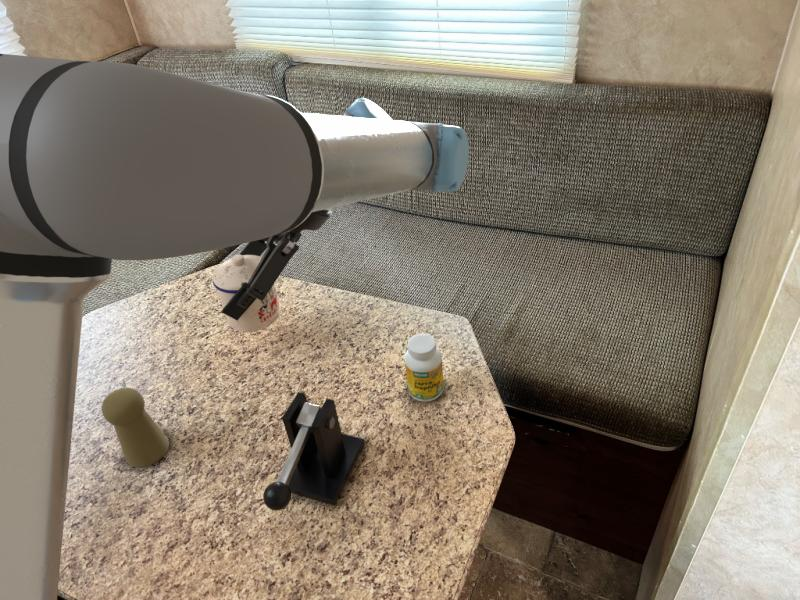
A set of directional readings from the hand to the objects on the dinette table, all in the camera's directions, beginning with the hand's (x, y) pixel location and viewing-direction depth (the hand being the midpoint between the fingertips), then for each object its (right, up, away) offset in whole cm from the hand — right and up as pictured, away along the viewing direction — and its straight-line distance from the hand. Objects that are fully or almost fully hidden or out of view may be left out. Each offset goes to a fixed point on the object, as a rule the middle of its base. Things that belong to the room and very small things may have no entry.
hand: (234, 290), depth 97 cm
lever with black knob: (+14, -21, -23) cm, 35 cm away
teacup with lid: (+3, -3, +3) cm, 5 cm away
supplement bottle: (+30, -15, -6) cm, 34 cm away
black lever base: (+16, -24, -16) cm, 33 cm away
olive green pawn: (-9, -23, -11) cm, 27 cm away
